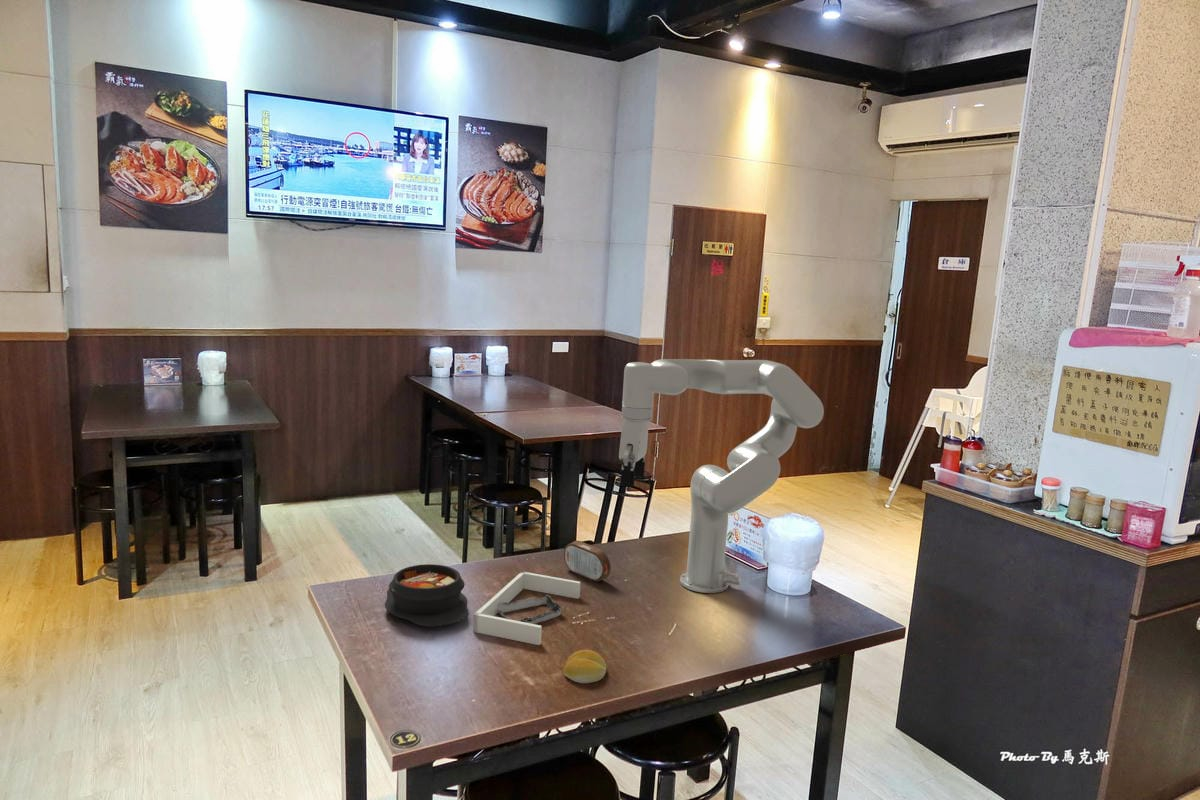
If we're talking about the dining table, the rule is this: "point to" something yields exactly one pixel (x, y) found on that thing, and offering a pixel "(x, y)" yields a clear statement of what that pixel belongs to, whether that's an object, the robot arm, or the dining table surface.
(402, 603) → the casserole
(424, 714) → the dining table surface
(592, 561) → the tin
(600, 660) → the bread roll
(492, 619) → the box
